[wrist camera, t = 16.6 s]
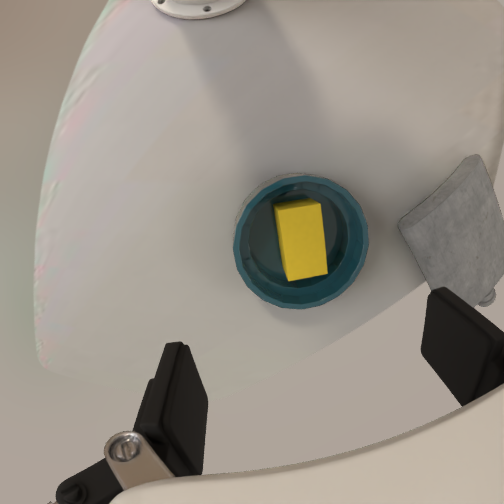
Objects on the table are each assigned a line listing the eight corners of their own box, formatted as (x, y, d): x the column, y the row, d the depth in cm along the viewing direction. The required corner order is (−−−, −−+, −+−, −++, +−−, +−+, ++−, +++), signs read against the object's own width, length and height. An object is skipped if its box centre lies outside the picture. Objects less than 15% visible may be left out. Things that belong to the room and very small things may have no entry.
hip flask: (393, 225, 32) (444, 325, 37) (410, 234, 28) (458, 339, 34) (469, 153, 30) (505, 260, 35) (489, 155, 26) (521, 269, 31)
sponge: (272, 203, 30) (277, 210, 26) (310, 197, 30) (320, 203, 26) (282, 267, 32) (288, 281, 29) (317, 260, 32) (328, 274, 29)
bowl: (223, 184, 30) (221, 189, 26) (346, 166, 30) (362, 167, 26) (246, 299, 34) (247, 319, 30) (355, 278, 34) (370, 294, 30)
